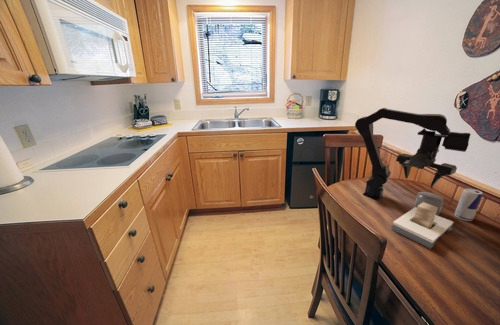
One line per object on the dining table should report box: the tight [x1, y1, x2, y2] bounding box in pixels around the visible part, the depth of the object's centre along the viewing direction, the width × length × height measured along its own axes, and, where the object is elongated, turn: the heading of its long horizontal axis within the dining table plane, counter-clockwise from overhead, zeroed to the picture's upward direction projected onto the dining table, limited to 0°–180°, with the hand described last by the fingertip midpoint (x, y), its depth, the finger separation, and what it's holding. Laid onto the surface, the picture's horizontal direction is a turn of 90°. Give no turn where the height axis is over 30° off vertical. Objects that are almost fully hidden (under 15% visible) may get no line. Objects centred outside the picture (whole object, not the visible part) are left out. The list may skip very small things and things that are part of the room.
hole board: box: [390, 207, 454, 250], centre depth 77 cm, size 12×18×4 cm, turn 122°
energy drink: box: [454, 187, 484, 222], centre depth 82 cm, size 5×5×12 cm
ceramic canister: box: [413, 191, 445, 216], centre depth 87 cm, size 8×8×7 cm
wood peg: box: [412, 202, 438, 230], centre depth 76 cm, size 4×4×10 cm
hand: (418, 182), depth 88 cm, fingers open, 9 cm apart
